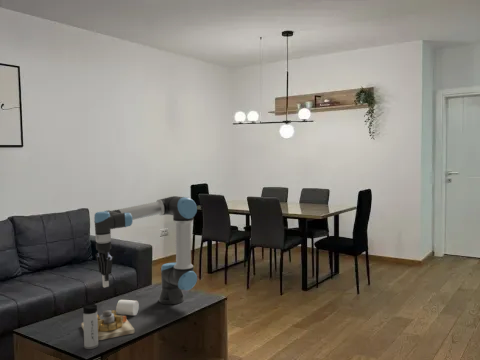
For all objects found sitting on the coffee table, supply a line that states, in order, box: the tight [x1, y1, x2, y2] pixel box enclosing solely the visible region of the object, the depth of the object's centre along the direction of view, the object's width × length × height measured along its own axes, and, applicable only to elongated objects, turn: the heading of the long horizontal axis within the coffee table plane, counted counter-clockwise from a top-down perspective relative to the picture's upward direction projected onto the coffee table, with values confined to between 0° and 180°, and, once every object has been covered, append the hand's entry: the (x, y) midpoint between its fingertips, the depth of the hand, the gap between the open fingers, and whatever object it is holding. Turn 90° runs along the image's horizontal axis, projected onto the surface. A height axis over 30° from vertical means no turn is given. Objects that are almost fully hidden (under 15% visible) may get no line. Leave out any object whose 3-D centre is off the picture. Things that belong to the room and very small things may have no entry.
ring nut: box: [97, 309, 127, 331], centre depth 226 cm, size 16×18×5 cm
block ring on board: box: [80, 309, 135, 341], centre depth 225 cm, size 22×22×10 cm
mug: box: [115, 299, 140, 316], centre depth 249 cm, size 12×10×8 cm
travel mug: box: [82, 303, 99, 350], centre depth 206 cm, size 6×7×20 cm
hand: (105, 286), depth 227 cm, fingers closed
